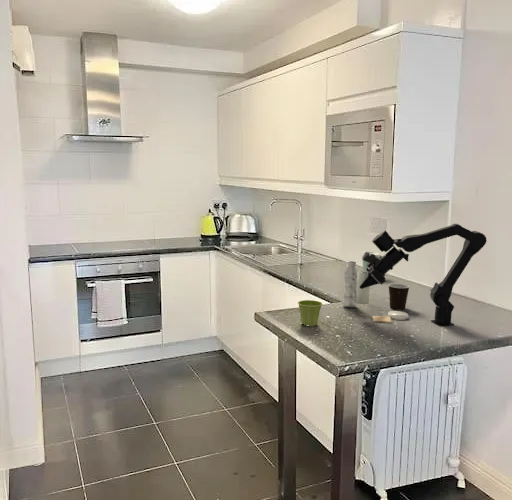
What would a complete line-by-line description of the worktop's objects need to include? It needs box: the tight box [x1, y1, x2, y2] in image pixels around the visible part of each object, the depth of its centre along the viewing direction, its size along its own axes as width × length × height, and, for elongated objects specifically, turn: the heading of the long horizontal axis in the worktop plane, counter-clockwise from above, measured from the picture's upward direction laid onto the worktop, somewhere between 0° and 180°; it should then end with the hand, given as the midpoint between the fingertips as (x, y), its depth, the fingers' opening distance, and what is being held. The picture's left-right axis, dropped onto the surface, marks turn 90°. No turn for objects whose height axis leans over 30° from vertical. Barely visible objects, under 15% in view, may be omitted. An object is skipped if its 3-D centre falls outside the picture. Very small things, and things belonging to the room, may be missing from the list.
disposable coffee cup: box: [361, 250, 382, 271], centre depth 285 cm, size 11×11×15 cm
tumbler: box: [356, 270, 371, 305], centre depth 207 cm, size 5×5×12 cm
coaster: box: [371, 315, 393, 324], centre depth 208 cm, size 7×7×1 cm
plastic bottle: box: [342, 261, 358, 308], centre depth 225 cm, size 6×7×20 cm
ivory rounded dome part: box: [387, 310, 409, 321], centre depth 212 cm, size 8×8×2 cm
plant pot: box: [297, 299, 323, 327], centre depth 199 cm, size 9×9×9 cm
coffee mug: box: [388, 283, 410, 311], centre depth 224 cm, size 12×9×10 cm
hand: (359, 286), depth 207 cm, fingers closed on tumbler, 5 cm apart
